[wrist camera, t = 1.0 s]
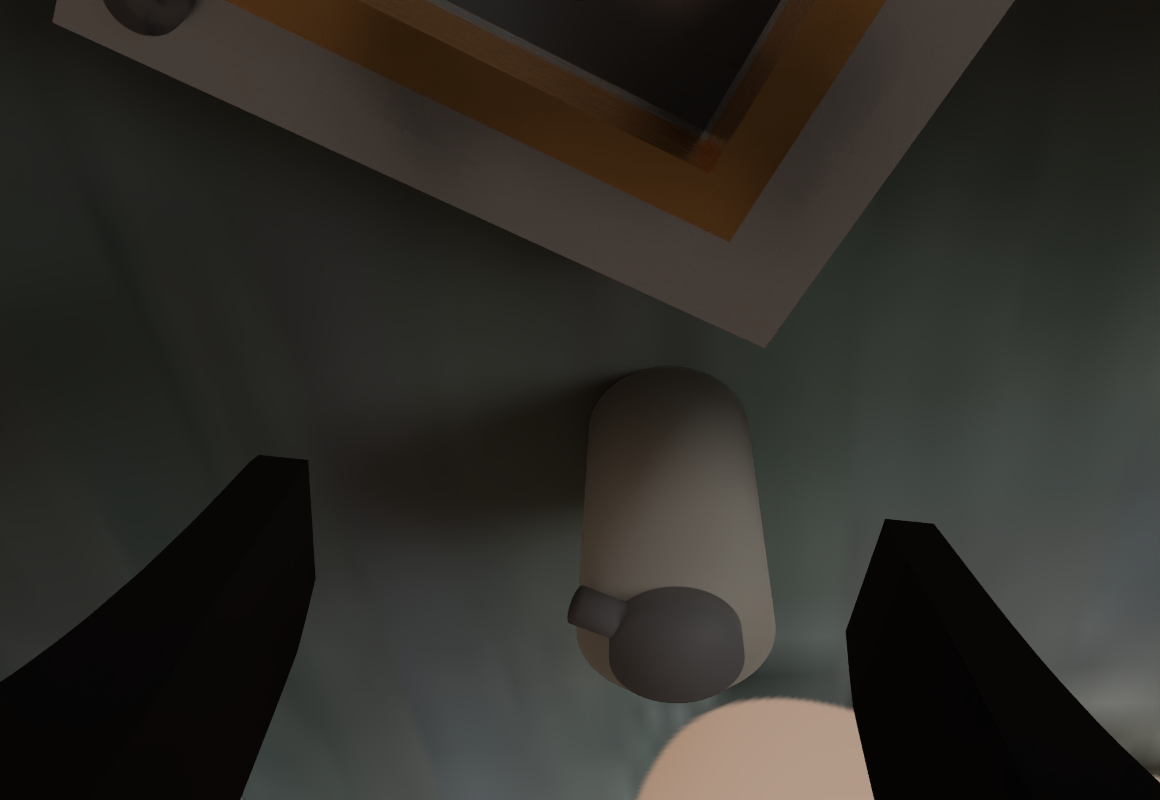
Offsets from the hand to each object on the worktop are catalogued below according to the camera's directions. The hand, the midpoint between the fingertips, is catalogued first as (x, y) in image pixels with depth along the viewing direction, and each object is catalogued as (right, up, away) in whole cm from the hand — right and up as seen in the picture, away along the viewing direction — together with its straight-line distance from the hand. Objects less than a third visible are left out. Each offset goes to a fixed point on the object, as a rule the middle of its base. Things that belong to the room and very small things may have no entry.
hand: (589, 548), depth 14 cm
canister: (+2, +1, +11) cm, 11 cm away
